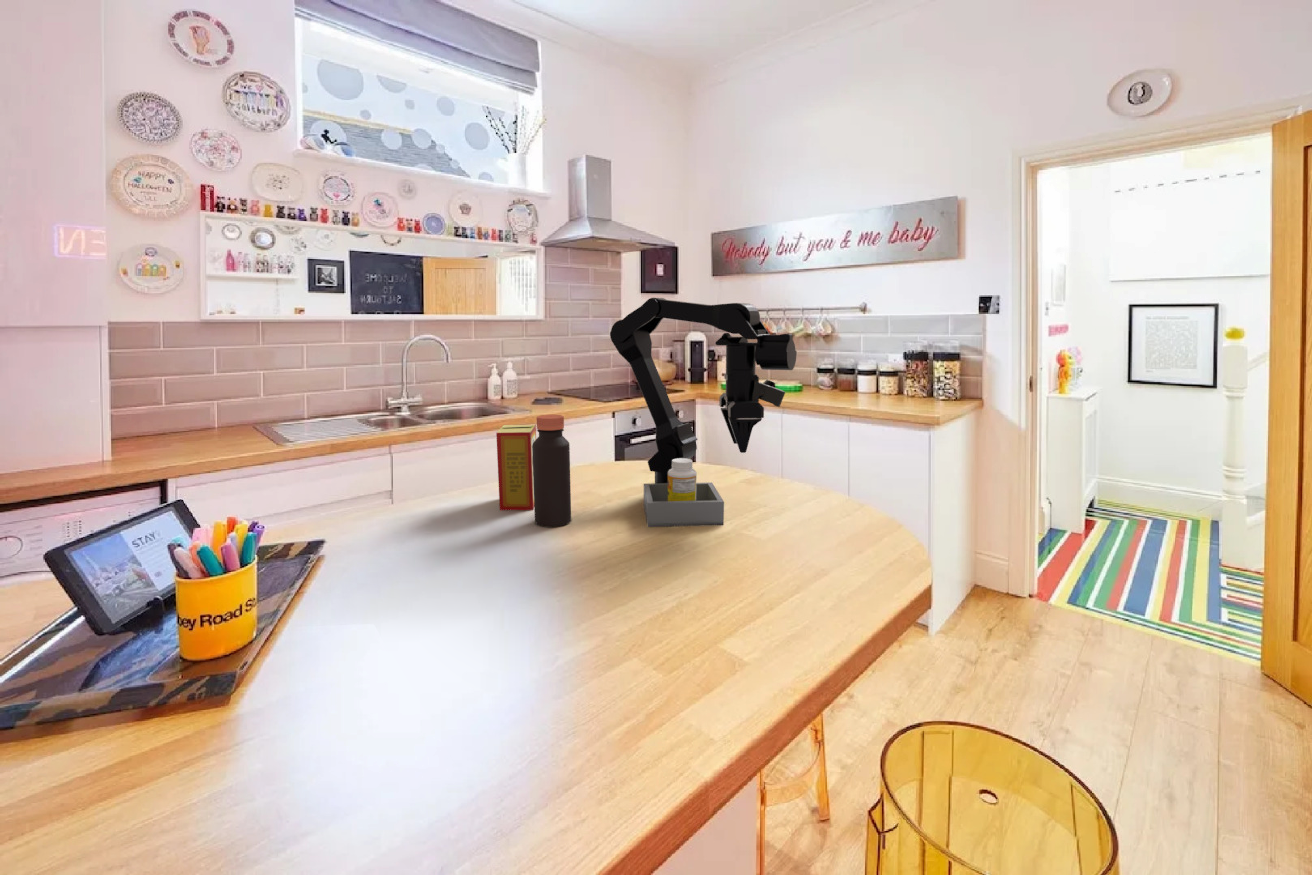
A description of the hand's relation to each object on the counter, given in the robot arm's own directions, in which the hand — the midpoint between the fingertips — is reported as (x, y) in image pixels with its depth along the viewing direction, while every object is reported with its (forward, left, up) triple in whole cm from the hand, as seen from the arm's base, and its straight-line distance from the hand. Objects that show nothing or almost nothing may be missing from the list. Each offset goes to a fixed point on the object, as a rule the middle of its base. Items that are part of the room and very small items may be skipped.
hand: (739, 447), depth 130 cm
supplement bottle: (-2, -12, -12) cm, 17 cm away
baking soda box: (-27, -35, -13) cm, 46 cm away
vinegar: (-12, -35, -13) cm, 39 cm away
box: (-2, -12, -12) cm, 18 cm away
